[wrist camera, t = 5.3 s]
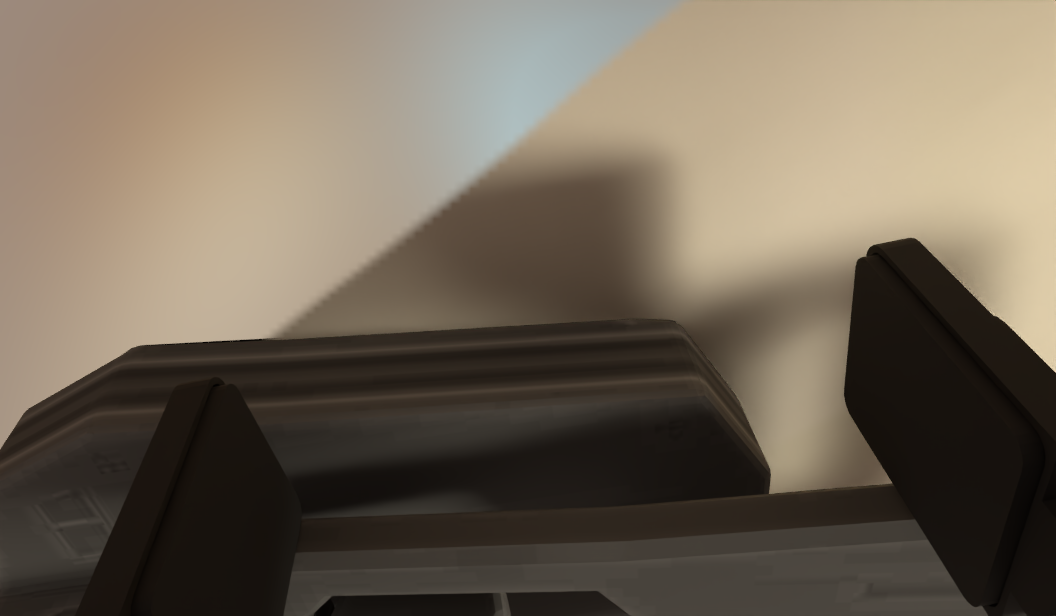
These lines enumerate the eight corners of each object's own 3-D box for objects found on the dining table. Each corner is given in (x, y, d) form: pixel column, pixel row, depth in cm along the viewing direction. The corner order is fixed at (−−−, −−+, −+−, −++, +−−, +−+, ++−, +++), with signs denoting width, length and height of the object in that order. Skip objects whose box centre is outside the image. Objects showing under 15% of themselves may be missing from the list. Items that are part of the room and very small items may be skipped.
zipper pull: (1384, 776, 14) (35, 975, 14) (1122, 494, 19) (150, 637, 19) (1818, 433, 9) (-361, 755, 9) (1290, 177, 14) (-49, 373, 14)
